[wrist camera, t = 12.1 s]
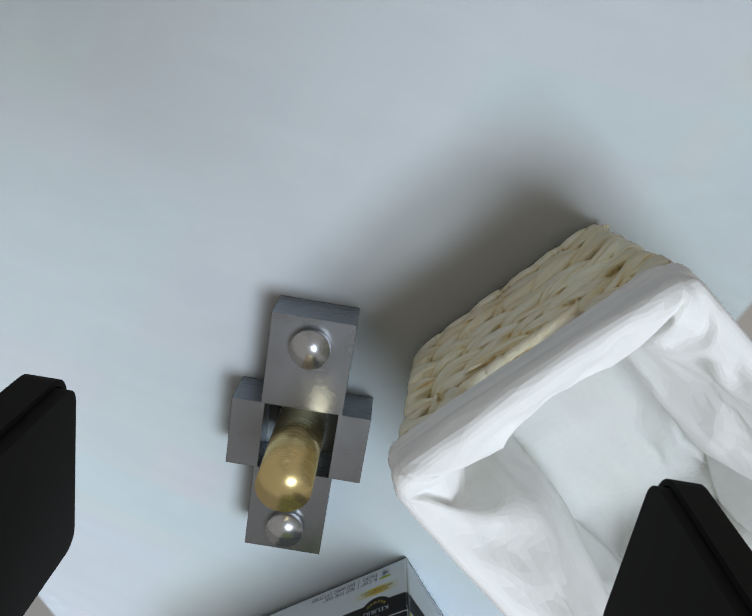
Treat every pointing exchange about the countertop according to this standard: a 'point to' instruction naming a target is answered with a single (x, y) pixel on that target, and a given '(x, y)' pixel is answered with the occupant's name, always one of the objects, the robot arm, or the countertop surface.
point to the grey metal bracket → (309, 392)
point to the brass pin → (291, 459)
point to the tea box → (372, 596)
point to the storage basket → (573, 420)
